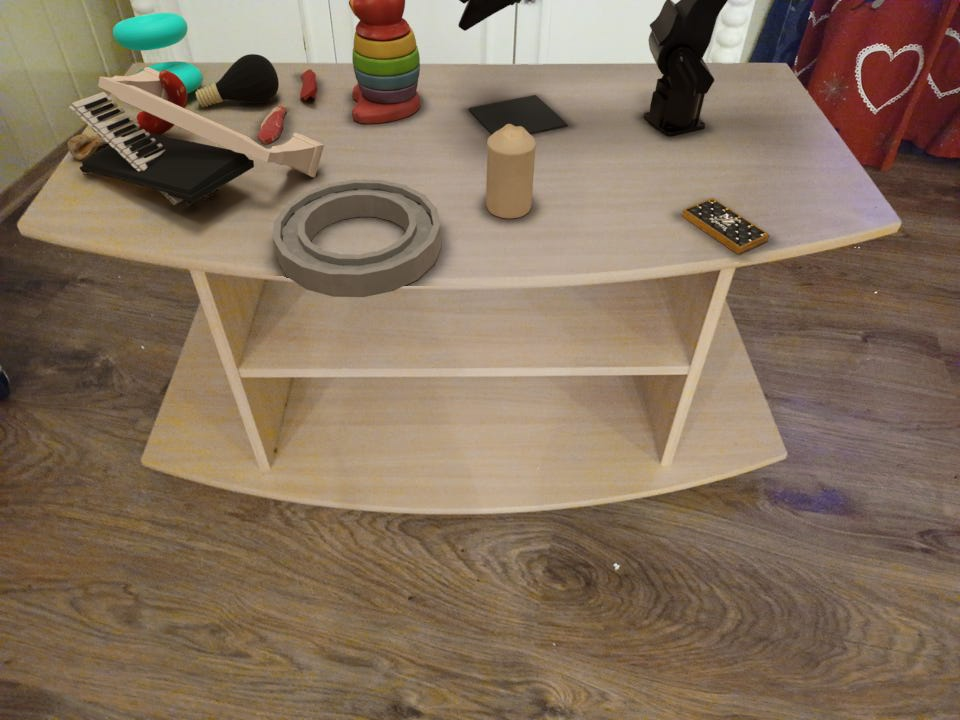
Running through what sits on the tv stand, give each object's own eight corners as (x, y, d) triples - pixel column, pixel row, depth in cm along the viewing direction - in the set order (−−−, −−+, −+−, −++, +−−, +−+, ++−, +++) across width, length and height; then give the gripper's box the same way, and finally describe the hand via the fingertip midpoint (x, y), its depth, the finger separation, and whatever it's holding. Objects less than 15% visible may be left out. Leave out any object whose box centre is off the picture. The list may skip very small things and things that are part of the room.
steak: (274, 139, 98) (252, 140, 98) (275, 143, 99) (254, 144, 99) (290, 104, 105) (270, 105, 105) (291, 108, 105) (271, 109, 105)
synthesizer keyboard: (189, 197, 80) (205, 258, 88) (254, 153, 85) (263, 214, 94) (54, 109, 85) (81, 174, 93) (122, 72, 90) (142, 137, 98)
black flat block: (683, 208, 87) (713, 196, 89) (681, 216, 88) (710, 204, 90) (740, 246, 82) (770, 233, 83) (737, 254, 82) (767, 241, 84)
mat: (535, 96, 110) (535, 94, 109) (567, 126, 103) (568, 124, 103) (468, 109, 106) (468, 107, 106) (497, 141, 100) (497, 139, 100)
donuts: (192, 78, 114) (127, 93, 109) (171, 8, 108) (101, 21, 103) (214, 89, 107) (146, 106, 102) (193, 15, 101) (119, 30, 97)
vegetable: (119, 115, 98) (159, 60, 91) (157, 124, 102) (199, 72, 95) (125, 144, 97) (167, 91, 90) (164, 152, 101) (207, 102, 94)
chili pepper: (306, 99, 104) (317, 108, 105) (325, 72, 104) (336, 82, 105) (288, 92, 114) (298, 100, 115) (306, 68, 113) (316, 76, 115)
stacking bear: (352, 90, 110) (337, -38, 98) (419, 88, 111) (413, -40, 99) (352, 125, 103) (336, -10, 90) (424, 122, 104) (418, -12, 91)
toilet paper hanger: (83, 94, 86) (89, 58, 85) (142, 99, 96) (149, 67, 95) (273, 180, 83) (283, 144, 82) (314, 177, 93) (324, 144, 91)
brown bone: (159, 89, 104) (176, 98, 104) (161, 106, 106) (177, 114, 106) (62, 138, 93) (80, 148, 93) (66, 155, 95) (84, 166, 95)
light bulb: (180, 71, 101) (262, 43, 101) (194, 80, 108) (271, 53, 108) (200, 119, 103) (280, 91, 103) (213, 125, 109) (288, 98, 109)
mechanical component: (473, 252, 82) (473, 230, 80) (330, 320, 74) (326, 298, 72) (383, 184, 92) (381, 163, 90) (249, 238, 84) (243, 216, 81)
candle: (491, 221, 86) (493, 144, 79) (482, 196, 90) (483, 120, 83) (536, 216, 87) (542, 139, 80) (525, 191, 91) (530, 116, 84)
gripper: (476, -167, 87) (410, -48, 96) (480, -130, 74) (402, 3, 83) (549, -106, 92) (479, 2, 101) (565, -61, 79) (482, 58, 88)
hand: (461, 14), depth 93 cm, fingers open, 9 cm apart
